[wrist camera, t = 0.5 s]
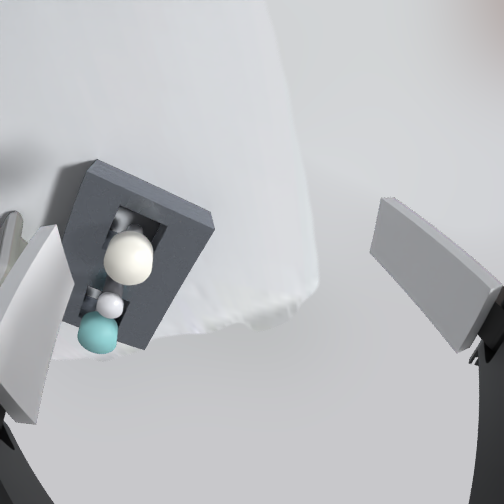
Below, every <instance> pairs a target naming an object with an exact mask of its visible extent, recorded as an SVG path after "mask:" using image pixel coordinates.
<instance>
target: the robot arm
mask: <svg viewBox="0 0 504 504" xmlns="http://www.w3.org/2000/svg"><path fill="white" fill-rule="evenodd" d="M370 254H371V255H372V256H373V257H374V258H375V259H376V260H377V261H378V262H379V263H380V264H381V265H382V267H383V268H384V269H385V270H386V271H387V272H388V273H389V274H390V275H391V276H392V277H393V279H394V280H395V281H396V282H397V283H398V284H399V285H400V286H401V287H402V289H403V290H404V291H405V292H406V293H407V294H408V295H409V297H410V298H411V299H412V300H413V301H414V302H415V303H416V305H417V306H418V307H419V308H420V309H421V311H423V313H424V314H425V315H426V316H427V318H428V319H429V320H430V321H431V322H432V324H433V325H434V326H435V327H436V329H437V330H438V331H439V332H440V333H441V335H442V336H443V337H444V338H445V340H446V341H447V342H448V343H449V345H450V346H451V347H452V348H453V350H454V351H455V352H456V353H458V352H461V351H463V350H465V349H467V348H470V346H471V345H472V343H473V341H474V340H475V338H476V336H477V334H478V335H479V337H480V338H481V339H482V340H481V341H480V343H479V345H478V347H477V348H476V350H475V351H474V353H473V354H472V356H471V357H470V359H469V364H470V363H472V362H473V360H474V358H475V357H478V359H477V361H476V362H475V365H478V366H479V425H478V440H477V451H476V461H475V469H474V476H473V483H472V488H471V494H470V500H469V504H504V286H503V284H502V283H501V282H500V281H499V280H498V279H496V278H495V277H494V276H493V275H492V274H491V273H490V272H489V271H488V270H486V269H485V268H484V267H483V266H482V265H481V264H480V263H479V262H477V261H476V260H475V259H474V258H473V257H472V256H470V255H469V254H468V253H467V252H466V251H464V250H463V249H462V248H461V247H459V246H458V245H457V244H456V243H454V242H453V241H452V240H451V239H450V238H448V237H447V236H446V235H445V234H443V233H442V232H441V231H439V230H438V229H437V228H435V227H434V226H433V225H432V224H430V223H429V222H428V221H426V220H425V219H424V218H422V217H421V216H420V215H418V214H417V213H416V212H414V211H413V210H411V209H410V208H409V207H407V206H406V205H404V204H403V203H402V202H400V201H399V200H397V199H396V198H381V200H380V206H379V211H378V216H377V221H376V226H375V231H374V235H373V240H372V244H371V248H370ZM73 287H74V281H73V278H72V275H71V272H70V269H69V266H68V263H67V259H66V256H65V253H64V249H63V246H62V242H61V239H60V235H59V232H58V228H57V224H56V225H49V226H42V227H40V228H39V229H38V230H37V232H36V233H35V235H34V236H33V237H32V239H31V240H30V242H29V243H28V245H27V246H26V247H25V249H24V250H23V252H22V253H21V255H20V256H19V258H18V259H17V261H16V262H15V264H14V266H13V267H12V269H11V270H10V272H9V273H8V275H7V277H6V278H5V280H4V282H3V283H2V285H1V287H0V504H54V503H53V501H52V500H51V498H50V497H49V496H48V494H47V493H46V491H45V490H44V488H43V487H42V485H41V483H40V482H39V480H38V479H37V477H36V476H35V474H34V472H33V471H32V469H31V467H30V466H29V464H28V462H27V461H26V459H25V457H24V455H23V453H22V451H21V450H20V448H19V446H18V444H17V442H16V440H15V438H14V436H13V434H12V433H11V430H10V428H9V427H8V425H7V424H6V423H5V422H4V416H5V412H7V413H8V414H9V415H10V416H11V417H12V419H13V420H14V421H15V422H18V423H26V424H36V423H37V417H38V412H39V406H40V402H41V397H42V393H43V388H44V384H45V379H46V375H47V371H48V367H49V363H50V360H51V356H52V352H53V349H54V345H55V342H56V338H57V335H58V332H59V328H60V325H61V322H62V319H63V316H64V313H65V310H66V307H67V304H68V301H69V298H70V295H71V292H72V290H73Z"/></svg>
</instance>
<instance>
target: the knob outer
mask: <svg viewBox="0 0 504 504" xmlns="http://www.w3.org/2000/svg"><path fill="white" fill-rule="evenodd" d="M117 335H118V325H117V323H116V321H115V320H114V319H109V318H106V317H103V316H102V315H101V314H100V313H99V312H98V311H97V308H96V310H95V311H93V312H89V313H87V314H85V315H84V316H83V317H82V320H81V323H80V327H79V331H78V341H79V343H80V344H81V345H82V346H83V347H84V348H85V349H87V350H88V351H90V352H93V353H97V354H106V353H109V352H111V351H113V350H114V349H115V347H116V343H117Z"/></svg>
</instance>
